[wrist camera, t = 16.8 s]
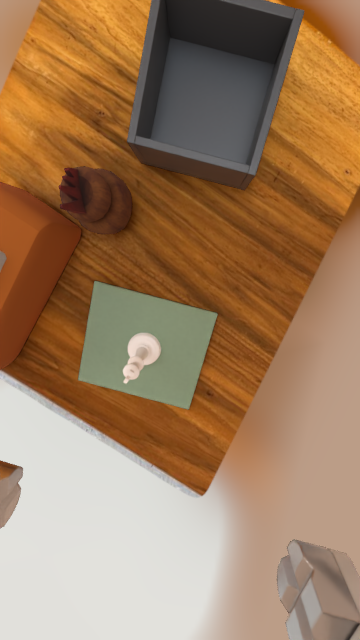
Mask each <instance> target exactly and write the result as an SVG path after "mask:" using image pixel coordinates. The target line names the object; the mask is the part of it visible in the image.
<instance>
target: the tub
mask: <svg viewBox="0 0 360 640" xmlns="http://www.w3.org/2000/svg"><path fill="white" fill-rule="evenodd" d="M303 15H304V10H300V9H296V10H295V8H292V7H288V6H284V5H280V4H276V3H273V2H269V1H265V0H152V1H151V7H150V13H149V19H148V24H147V30H146V36H145V41H144V47H143V53H142V59H141V64H140V70H139V76H138V82H137V87H136V93H135V99H134V104H133V110H132V116H131V122H130V127H129V133H128V139H127V142H128V144H129V145H130V147H131V148H132V150H133V151H134V153H135V154H136V156H137V157H138V159H139V160H140V162H141V163H143V164H147V165H151V166H154V167H158V168H162V169H166V170H170V171H173V172H177V173H181V174H185V175H189V176H192V177H196V178H200V179H204V180H208V181H211V182H215V183H219V184H223V185H227V186H230V187H234V188H238V189H242V190H245V189H246V187H247V186H248V185H249V183H250V182H251V181H252V179H253V178H254V177H255V175H256V172H257V169H258V165H259V162H260V159H261V155H262V152H263V149H264V145H265V142H266V138H267V135H268V132H269V128H270V125H271V122H272V118H273V115H274V112H275V108H276V105H277V102H278V98H279V95H280V92H281V88H282V85H283V82H284V78H285V75H286V71H287V68H288V65H289V61H290V58H291V55H292V51H293V48H294V45H295V41H296V38H297V35H298V31H299V28H300V25H301V21H302V18H303Z"/></svg>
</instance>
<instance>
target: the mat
mask: <svg viewBox="0 0 360 640" xmlns="http://www.w3.org/2000/svg"><path fill="white" fill-rule="evenodd" d="M217 315H218V314H217V313H216V312H212V311H208V310H204V309H201V308H197V307H193V306H189V305H185V304H182V303H178V302H174V301H170V300H167V299H163V298H159V297H155V296H152V295H148V294H144V293H140V292H137V291H133V290H129V289H125V288H121V287H118V286H114V285H110V284H106V283H103V282H99V281H94V287H93V293H92V299H91V305H90V311H89V317H88V323H87V329H86V335H85V341H84V347H83V353H82V359H81V365H80V371H79V377H78V380H80V381H84V382H87V383H91V384H95V385H98V386H102V387H106V388H110V389H113V390H117V391H121V392H125V393H128V394H132V395H136V396H140V397H143V398H147V399H151V400H155V401H158V402H162V403H166V404H169V405H173V406H177V407H181V408H184V409H188V410H189V407H190V404H191V401H192V397H193V394H194V391H195V387H196V384H197V381H198V377H199V374H200V371H201V367H202V364H203V361H204V358H205V354H206V351H207V348H208V344H209V341H210V338H211V334H212V331H213V328H214V324H215V321H216V318H217ZM138 333H149V334H151V335H153V336H155V337H156V338H157V339H158V341H159V343H160V346H161V353H160V356H159V357H158V359H157V360H156V361H155V362H153V363H152V364H149V365H144V367H143V369H142V370H140V373H139V376H138V377H137V378H136V379H134V380H130V379H129V381H128V382H127V384H125V383H124V382H123V381H124V380H125V378H126V377H125V376H124V374H123V369H124V367H125V366H126V365H127V364H128V360H129V358H130V356H129V354H128V344H129V341H130V339H131V338H132V337H133V336H134V335H136V334H138Z"/></svg>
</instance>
